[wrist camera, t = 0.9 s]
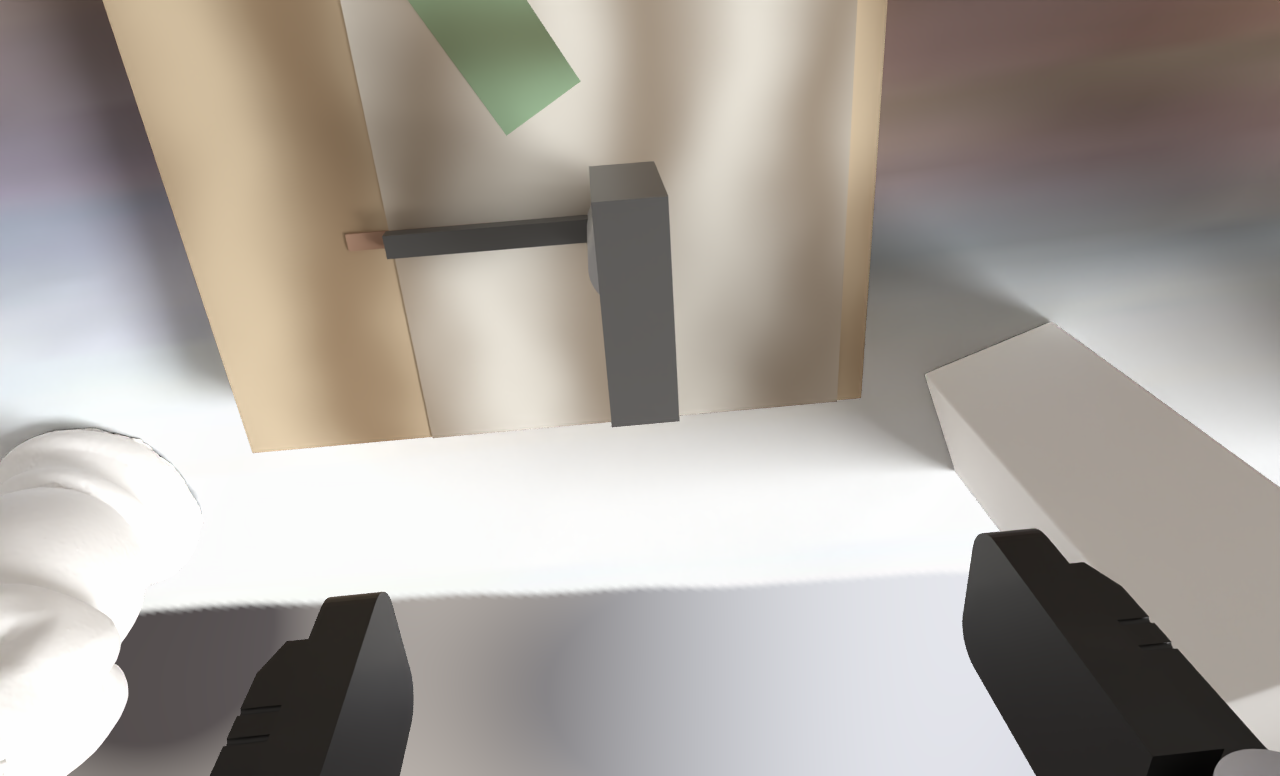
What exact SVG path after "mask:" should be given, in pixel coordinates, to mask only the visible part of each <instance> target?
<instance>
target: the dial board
mask: <svg viewBox="0 0 1280 776" xmlns="http://www.w3.org/2000/svg"><path fill="white" fill-rule="evenodd" d="M103 3H104V6H105V9H106V12H107V15H108V18H109V21H110V24H111V27H112V30H113V33H114V36H115V39H116V42H117V45H118V48H119V51H120V54H121V57H122V60H123V63H124V66H125V69H126V73H127V76H128V79H129V82H130V85H131V88H132V91H133V94H134V97H135V100H136V103H137V106H138V109H139V112H140V115H141V118H142V121H143V124H144V127H145V130H146V133H147V136H148V139H149V142H150V145H151V148H152V151H153V154H154V157H155V160H156V163H157V166H158V169H159V172H160V175H161V178H162V181H163V184H164V187H165V190H166V193H167V196H168V199H169V202H170V205H171V208H172V211H173V214H174V217H175V220H176V223H177V226H178V229H179V232H180V235H181V238H182V241H183V244H184V247H185V250H186V253H187V256H188V259H189V262H190V265H191V268H192V271H193V274H194V277H195V280H196V283H197V286H198V290H199V293H200V296H201V299H202V302H203V305H204V308H205V311H206V314H207V317H208V320H209V323H210V326H211V329H212V332H213V335H214V338H215V341H216V344H217V347H218V350H219V353H220V356H221V359H222V362H223V365H224V368H225V371H226V374H227V377H228V380H229V383H230V386H231V389H232V392H233V395H234V398H235V401H236V404H237V407H238V410H239V413H240V416H241V419H242V422H243V425H244V428H245V431H246V434H247V437H248V440H249V443H250V446H251V449H252V452H253V453H259V452H270V451H281V450H292V449H303V448H314V447H325V446H336V445H347V444H358V443H369V442H380V441H391V440H402V439H413V438H425V437H433V438H438V437H449V436H461V435H472V434H483V433H494V432H505V431H516V430H527V429H538V428H549V427H560V426H571V425H582V424H593V423H604V422H611V412H610V401H609V391H608V380H607V369H606V359H605V348H604V337H603V326H602V316H601V305H600V295H599V294H598V292H597V291H596V290H595V288H594V287H593V285H592V283H591V281H590V278H589V273H588V248H587V243H577V244H565V245H553V246H541V247H529V248H517V249H505V250H493V251H481V252H469V253H457V254H445V255H433V256H421V257H409V258H398V259H387V257H386V252H385V248H384V243H383V238H382V236H383V234H384V233H385V232H386V231H395V230H407V229H419V228H432V227H444V226H456V225H468V224H480V223H492V222H504V221H516V220H528V219H541V218H553V217H565V216H577V215H587V214H588V210H589V208H590V206H591V195H590V177H589V166H600V165H612V164H625V163H637V162H649V161H654V162H655V165H656V167H657V170H658V172H659V175H660V177H661V179H662V182H663V184H664V187H665V189H666V192H667V194H668V200H669V220H670V240H671V260H672V280H673V300H674V321H675V341H676V361H677V381H678V401H679V416H682V415H693V414H704V413H715V412H726V411H737V410H748V409H759V408H770V407H781V406H792V405H803V404H814V403H825V402H836V401H837V400H845V399H856V398H861V391H862V376H863V361H864V346H865V331H866V316H867V301H868V286H869V271H870V256H871V241H872V226H873V211H874V196H875V181H876V166H877V151H878V136H879V121H880V106H881V91H882V76H883V60H884V45H885V30H886V15H887V0H103Z"/></svg>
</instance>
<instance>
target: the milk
mask: <svg viewBox="0 0 1280 776" xmlns="http://www.w3.org/2000/svg"><path fill="white" fill-rule="evenodd" d="M925 378H926V381H927V384H928V387H929V390H930V393H931V397H932V400H933V403H934V406H935V409H936V412H937V416H938V419H939V422H940V425H941V428H942V431H943V434H944V438H945V441H946V444H947V447H948V450H949V453H950V457H951V460H952V463H953V466H954V469H955V472H956V474H957V475H958V476H959V478H960V479H961V480H962V482H963V483H964V484H965V486H966V487H967V488H968V490H969V491H970V492H971V494H972V495H973V496H974V497H975V499H976V500H977V501H978V503H979V504H980V505H981V507H982V508H983V509H984V511H985V512H986V513H987V515H988V516H989V517H990V519H991V520H992V521H993V522H994V524H995V525H996V526H997V528H998V529H999V530H1000V532H1001V531H1011V530H1021V529H1031V528H1036V529H1039V530H1040V531H1042V532H1043V533H1044V534H1045V535H1046V536H1047V537H1048V538H1049V539H1050V541H1051V542H1052V543H1053V544H1054V545H1055V547H1056V548H1057V549H1058V550H1059V551H1060V553H1061V554H1062V555H1063V556H1064V557H1065V559H1066V560H1067V561H1068V562H1069V563H1079V562H1085V563H1086V564H1088V565H1089V566H1091V567H1092V568H1094V569H1096V570H1097V571H1099V572H1100V573H1102V574H1103V575H1105V576H1107V577H1108V578H1110V579H1111V580H1113V581H1114V582H1116V583H1118V584H1119V585H1121V586H1122V587H1123V588H1124V589H1125V590H1126V591H1127V592H1128V594H1129V595H1130V596H1131V597H1132V598H1133V599H1134V600H1135V601H1136V603H1137V604H1138V605H1139V606H1140V607H1141V608H1142V609H1143V610H1144V611H1145V613H1146V614H1147V615H1148V616H1149V621H1150V622H1151V623H1155V624H1156V625H1157V626H1158V627H1159V628H1160V629H1161V631H1162V632H1163V633H1164V634H1165V635H1166V636H1167V637H1168V638H1169V640H1170V641H1171V644H1172V647H1173V648H1174V649H1176V648H1177V649H1178V650H1179V651H1180V652H1181V653H1182V654H1183V655H1184V656H1185V657H1186V659H1187V660H1188V661H1189V662H1190V663H1191V664H1192V665H1193V666H1194V668H1195V669H1196V670H1197V671H1198V672H1199V673H1200V674H1201V675H1202V677H1203V678H1204V679H1205V680H1206V681H1207V682H1208V683H1209V684H1210V686H1211V687H1212V688H1213V689H1214V690H1215V691H1216V692H1217V693H1218V695H1219V696H1220V697H1221V698H1222V699H1223V700H1224V701H1225V702H1226V704H1227V705H1228V706H1229V707H1230V708H1231V709H1232V710H1233V711H1234V712H1235V714H1236V715H1237V716H1238V717H1239V718H1240V719H1241V720H1242V721H1243V723H1244V724H1245V725H1246V726H1247V727H1248V728H1249V729H1250V730H1251V732H1252V733H1253V734H1254V735H1255V736H1256V737H1257V738H1258V739H1259V741H1260V742H1261V743H1262V744H1263V745H1264V746H1265V747H1266V748H1267V749H1268V750H1272V751H1277V752H1280V487H1279V486H1277V485H1276V484H1274V483H1273V482H1272V481H1270V480H1269V479H1268V478H1266V477H1265V476H1263V475H1262V474H1261V473H1259V472H1258V471H1257V470H1255V469H1254V468H1252V467H1251V466H1250V465H1248V464H1247V463H1246V462H1244V461H1243V460H1241V459H1240V458H1239V457H1237V456H1236V455H1235V454H1233V453H1232V452H1230V451H1229V450H1228V449H1226V448H1225V447H1224V446H1222V445H1221V444H1220V443H1218V442H1217V441H1215V440H1214V439H1213V438H1211V437H1210V436H1209V435H1207V434H1206V433H1204V432H1203V431H1202V430H1200V429H1199V428H1198V427H1196V426H1195V425H1193V424H1192V423H1191V422H1189V421H1188V420H1187V419H1185V418H1184V417H1182V416H1181V415H1180V414H1178V413H1177V412H1176V411H1174V410H1173V409H1171V408H1170V407H1169V406H1167V405H1166V404H1165V403H1163V402H1162V401H1161V400H1159V399H1158V398H1156V397H1155V396H1154V395H1152V394H1151V393H1150V392H1148V391H1147V390H1145V389H1144V388H1143V387H1141V386H1140V385H1139V384H1137V383H1136V382H1134V381H1133V380H1132V379H1130V378H1129V377H1128V376H1126V375H1125V374H1123V373H1122V372H1121V371H1119V370H1118V369H1117V368H1115V367H1114V366H1112V365H1111V364H1110V363H1108V362H1107V361H1106V360H1104V359H1103V358H1101V357H1100V356H1099V355H1097V354H1096V353H1095V352H1093V351H1092V350H1091V349H1089V348H1088V347H1086V346H1085V345H1084V344H1082V343H1081V342H1080V341H1078V340H1077V339H1075V338H1074V337H1073V336H1071V335H1070V334H1069V333H1067V332H1066V331H1064V330H1063V329H1062V328H1060V327H1059V326H1058V325H1056V324H1055V323H1053V322H1049V323H1047V324H1044V325H1042V326H1039V327H1037V328H1034V329H1032V330H1030V331H1027V332H1025V333H1022V334H1020V335H1018V336H1015V337H1013V338H1010V339H1008V340H1006V341H1003V342H1001V343H998V344H996V345H993V346H991V347H989V348H986V349H984V350H981V351H979V352H977V353H974V354H972V355H969V356H967V357H964V358H962V359H960V360H957V361H955V362H952V363H950V364H948V365H945V366H943V367H940V368H938V369H935V370H933V371H931V372H928V373H926V374H925Z"/></svg>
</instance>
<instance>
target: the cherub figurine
mask: <svg viewBox="0 0 1280 776" xmlns="http://www.w3.org/2000/svg"><path fill="white" fill-rule="evenodd" d="M174 468H175V467H174V466H173V465H172V464H170V463H169V462H168V461H166V460H165V459H164V458H162V457H159V455H158V454H157V453H155V452H154V451H153V449H152V447H150V446H149V445H147V444H146V443H143V441H142V440H141V439H135V438H131V439H130V438H129V437H127V436H122V435H119V434H111V433H110V432H105V431H104V432H103V431H102V430H99V429H97V428H94V429H93V428H86V429H85V428H84V430H83V429H74V430H64V431H58V430H55V431H54V432H47V433H45V434H42V435H39V436H36V437H33V438H31V439H29V440H27V441H25V442H23V443H21V444H20V445H18V446H17V447H15V448H14V449H13V450H11V451H10V452H9V453H8V454H7V455H6V456H5V457H4V458H3V459H2V461H1V462H0V776H67V775H68V774H69V773H70V772H71V771H73V770H74V769H75V768H77V767H78V766H79V765H81V764H82V763H83V762H84V761H85V760H86V759H87V758H88V757H90V756H91V754H93V753H94V752H95V751H96V749H98V748H99V746H100V745H101V744H102V742H103V741H104V740H105V739H106V737H107V736H108V734H109V733H110V731H111V730H112V729H113V727H114V726H115V724H116V723H117V721H118V720H119V718H120V716H121V714H122V712H123V710H124V708H125V705H126V702H127V698H128V684H127V681H126V678H125V675H124V673H123V671H122V670H121V669H120V668H119V667H118V665H116V664H114V663H115V661H116V660H117V657H118V654H119V651H120V646H121V642H122V641H123V640H124V638H125V637H126V635H127V634H128V632H129V631H130V629H131V628H132V626H133V624H134V622H135V620H136V619H137V617H138V614H139V612H140V610H141V608H142V604H143V600H144V597H145V591H146V587H147V586H149V585H152V584H155V583H158V582H160V581H163V580H165V579H166V578H168V577H170V576H172V575H173V574H174V573H176V572H177V571H178V570H180V569H181V568H182V567H183V566H184V565H185V563H187V561H188V560H189V559H190V557H191V555H192V553H193V551H194V550H195V546H196V544H197V540H198V536H199V529H200V528H201V527H202V524H203V523H204V522H203V519H202V517H201V510H200V507H199V505H197V502H196V501H195V499H194V497H192V494H191V492H190V491H189V488H188V487H187V486H186V483H185V481H184V479H183V478H182V477H181V476H180V474H179V473H178V472H177V470H175V469H174Z"/></svg>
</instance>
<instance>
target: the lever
mask: <svg viewBox="0 0 1280 776" xmlns="http://www.w3.org/2000/svg"><path fill="white" fill-rule="evenodd" d="M589 177H590V195H591V206H590V208H589V210H588V214H587V215H577V216H565V217H553V218H541V219H528V220H516V221H504V222H492V223H480V224H468V225H456V226H444V227H432V228H419V229H407V230H395V231H386V232H385V233H384V234H383V236H382V238H383V243H384V248H385V252H386V257H387V259H398V258H409V257H421V256H433V255H445V254H457V253H469V252H481V251H493V250H505V249H517V248H529V247H541V246H553V245H565V244H577V243H587V248H588V273H589V278H590V281H591V283H592V285H593V287H594V288H595V290H596V291H597V292H598V294H599V295H600V305H601V316H602V326H603V337H604V348H605V359H606V369H607V380H608V391H609V401H610V412H611V423H612V427H620V426H631V425H642V424H653V423H664V422H675V421H679V401H678V381H677V361H676V341H675V321H674V300H673V280H672V260H671V240H670V220H669V200H668V194H667V192H666V189H665V187H664V184H663V182H662V179H661V177H660V175H659V172H658V170H657V167H656V165H655V162H654V161H649V162H637V163H625V164H612V165H600V166H589Z"/></svg>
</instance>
